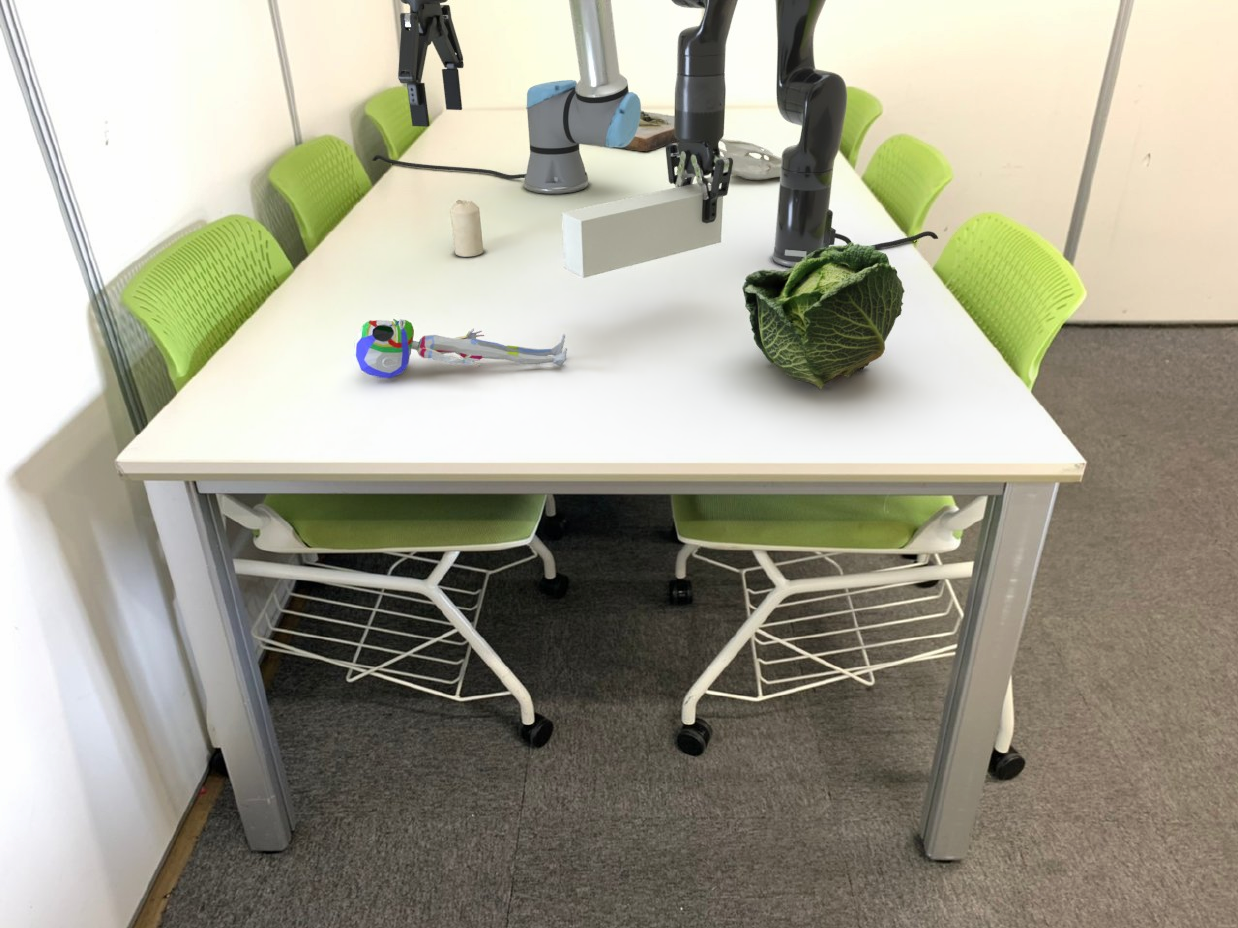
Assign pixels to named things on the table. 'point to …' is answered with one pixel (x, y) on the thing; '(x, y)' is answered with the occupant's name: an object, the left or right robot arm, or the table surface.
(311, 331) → the table surface
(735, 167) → the anatomical model
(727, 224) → the table surface
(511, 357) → the toy
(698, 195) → the bar
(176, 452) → the table surface
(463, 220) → the candle
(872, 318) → the vegetable
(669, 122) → the plaque
